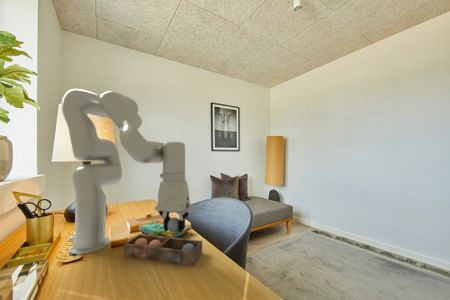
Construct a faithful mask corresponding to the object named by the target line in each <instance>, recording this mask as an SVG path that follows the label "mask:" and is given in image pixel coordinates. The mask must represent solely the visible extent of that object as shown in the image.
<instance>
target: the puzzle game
mask: <svg viewBox="0 0 450 300" xmlns="http://www.w3.org/2000/svg"><path fill="white" fill-rule="evenodd" d="M191 230H192V226H189V225H187V224H185V228H184V230H183V231H182V232H181V233H179V232H178V231H176V232H171V231H169V230H167V231H164V220H163V219H162V217H161V218H159V219H156V220H154V221H151V222H148V223H146V224H142V225H140V226H139V231H140V232H141V233H142V232H144V233H143V234H145V233H147V234H149V235H153V236H162V237H171V238H179V236H181V235H184V234H185V233H187V232H189V231H191ZM147 234H146V235H147Z"/></svg>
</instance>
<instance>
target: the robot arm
mask: <svg viewBox="0 0 450 300" xmlns="http://www.w3.org/2000/svg"><path fill="white" fill-rule="evenodd" d="M61 110H62V114H63V115H62V116H63V118H64V120H65V122H66V125H67V127H68V133H69V139H70V143H71V150H72V153H73V157H74V158H75V159H76V160H77V161H80V162H98V163H89V164H88V163H87V164H84V165H81V166H79V167H77V168H76V169H75V170H74V171H73V173H72V176H71V178H72V184H73V187H74V194H75V196H74V197H75V201H74V202H75V204H74V206H75V214H74V217H75V218H74V232H73V233H72V236H70V237H69V238H68V241H72V245H70V246H69V249H68V254H70V253H71V254H70V255H72V254H78V255H85V254H90V253H94V252H96V251H99V250H101V249H103V248H105V247H106V246H108V245H109V244H110V242H111V238H110V237H108V236H106V223H107V218H106V217H107V216H106V215H107V198H106V195H105V192H104V191H103V189H102V188H104V187H109V186H113V185H117V184H118V183H119V182H120V181H121V179H122V177H123V171H122V165H121V164H122V163H121V159H120V155H119V151H118V147H117V145H116V144H115V143H114V142H113V141H112V140H110V139H106V138H100V137H99V136H98V134H97V127H96V125H95V123H94V122H93V120H92V119H91V118H90V117H89V116H88V115H92V116H96V117H100V118H105V119H106V118H107V119H111V121H112V122H113V123H114V124H115V125H116V127H117V128H118V129H119V140H120V143H121V146H122V147H123V149H124V151H126V152H127V154H128V155H129V156H130V157H131V158H132V159H133V160H134V161H135V162H137V163H139V164H157V163H159V164H160V163H162V173H160V174H159V178H161V179H162V181H160V183H159V189H158V192H157V193H158V194H157V204H156V206H155V207H154V210H155V211H156V212H158V214H159V215H160V216H161V218H162V219H163V220H164V231H167V230H168V227H167V224H168V222H169V220H170V219H172V218H171V216H170V213H178V216H179V217H178V219H179V221H178V232H179V233H181V232H182V231H183V230H184V228H185V225H186V218H187V217H188V216H189V215H191V213H193V212H194V211H195V208H194V206H193V205H192V203H191V202H190V190H189V183H188V181H187V180H186V146H185V145H186V144H185V143H184V142H182V141H166V142H158V141H151V140H147V139H145V137H144V136H143V135H142V134H141V133H140V131H139V128H140V127H141V125H142V123H143V120H142V117H141V116H140V115H139V114H138V113H139V106H138V103H137V101H135V100H134V99H132V97H131V98H130V97H129V96H127V95H123V94H121V93H119V92H117V91H111V90H110V91H109V90H108V91H105V92H104V93H102V94H100V95H99V94H97V93H94V92H91V91H88V90H85V89H79V88H73V89H69V90H68V91H67V92H66V93H65V94H64V96H63V97H62V100H61ZM187 209H188V210H187ZM186 210H187V211H186Z"/></svg>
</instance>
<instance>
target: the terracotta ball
mask: <svg viewBox="0 0 450 300" xmlns="http://www.w3.org/2000/svg"><path fill="white" fill-rule="evenodd" d="M160 244H161V242H160V241H159V240H152V241H151V242H150V243H149V244H148V246H153V247H158V246H159V245H160Z"/></svg>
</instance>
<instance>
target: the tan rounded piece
mask: <svg viewBox="0 0 450 300" xmlns="http://www.w3.org/2000/svg"><path fill="white" fill-rule="evenodd" d="M134 244H137V245H145V246H147V245H148V243H147V240H146V239H144V238H140V239H138V240H136V241H135V243H134Z"/></svg>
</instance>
